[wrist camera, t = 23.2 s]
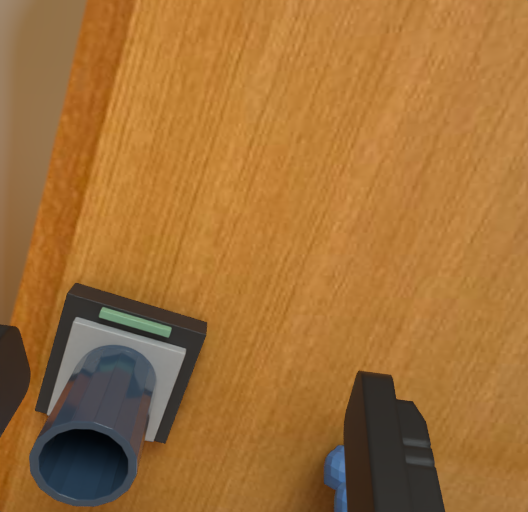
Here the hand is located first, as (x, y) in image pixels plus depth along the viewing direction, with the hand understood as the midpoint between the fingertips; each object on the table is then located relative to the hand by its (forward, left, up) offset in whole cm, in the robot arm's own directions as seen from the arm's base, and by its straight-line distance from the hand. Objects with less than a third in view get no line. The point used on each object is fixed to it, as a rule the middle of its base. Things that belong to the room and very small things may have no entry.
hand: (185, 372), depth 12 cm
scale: (+10, -11, -24) cm, 28 cm away
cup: (+10, -11, -21) cm, 26 cm away
